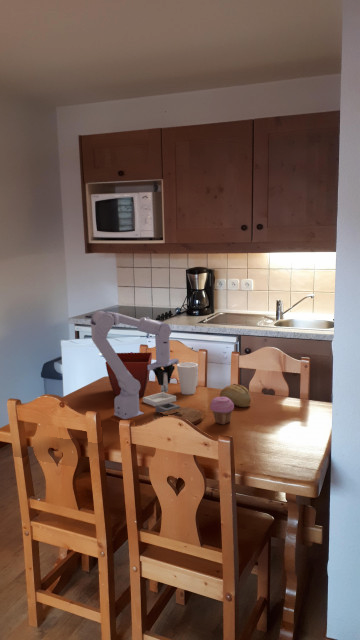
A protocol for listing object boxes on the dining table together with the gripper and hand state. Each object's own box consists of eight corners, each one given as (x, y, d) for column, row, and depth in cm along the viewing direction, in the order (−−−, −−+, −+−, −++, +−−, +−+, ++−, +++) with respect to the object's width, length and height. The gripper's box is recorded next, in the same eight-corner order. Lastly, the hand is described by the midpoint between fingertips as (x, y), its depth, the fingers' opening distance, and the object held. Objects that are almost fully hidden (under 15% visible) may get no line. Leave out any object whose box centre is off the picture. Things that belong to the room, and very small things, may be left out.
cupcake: (224, 428, 188) (224, 402, 186) (206, 423, 193) (205, 397, 192) (238, 421, 194) (238, 396, 193) (220, 416, 200) (219, 392, 199)
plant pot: (150, 399, 225) (148, 361, 222) (106, 399, 225) (105, 362, 223) (153, 386, 244) (152, 352, 241) (113, 387, 244) (111, 353, 242)
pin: (163, 392, 209) (163, 373, 207) (159, 391, 211) (158, 372, 210) (169, 391, 210) (169, 372, 209) (165, 389, 213) (164, 370, 211)
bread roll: (229, 397, 224) (229, 379, 223) (256, 404, 214) (256, 386, 212) (214, 402, 218) (214, 384, 217) (242, 410, 207) (241, 391, 206)
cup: (166, 417, 201) (166, 409, 201) (155, 412, 207) (155, 405, 206) (180, 412, 206) (179, 405, 205) (169, 408, 211) (168, 401, 211)
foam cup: (199, 389, 237) (198, 362, 235) (197, 395, 228) (197, 367, 226) (178, 389, 238) (178, 362, 236) (176, 395, 229) (175, 367, 227)
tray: (155, 407, 213) (155, 402, 213) (143, 402, 220) (142, 397, 219) (176, 401, 220) (176, 396, 220) (163, 397, 227) (163, 392, 226)
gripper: (154, 356, 200) (155, 389, 203) (182, 350, 209) (184, 382, 212) (143, 353, 206) (145, 386, 208) (172, 347, 215) (173, 378, 217)
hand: (164, 383), depth 210 cm, fingers closed on pin, 3 cm apart
